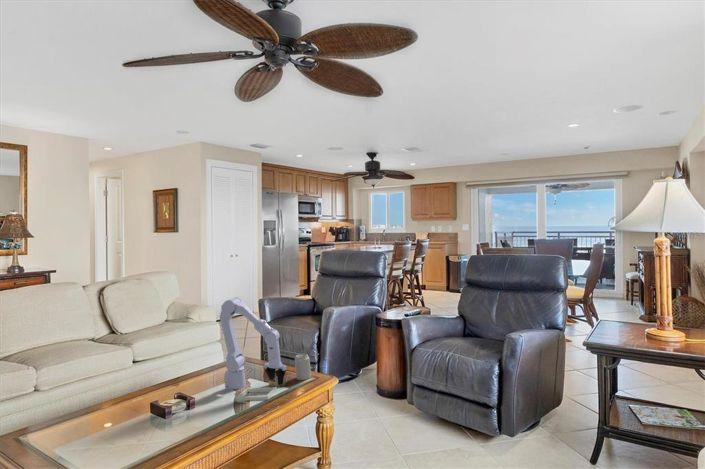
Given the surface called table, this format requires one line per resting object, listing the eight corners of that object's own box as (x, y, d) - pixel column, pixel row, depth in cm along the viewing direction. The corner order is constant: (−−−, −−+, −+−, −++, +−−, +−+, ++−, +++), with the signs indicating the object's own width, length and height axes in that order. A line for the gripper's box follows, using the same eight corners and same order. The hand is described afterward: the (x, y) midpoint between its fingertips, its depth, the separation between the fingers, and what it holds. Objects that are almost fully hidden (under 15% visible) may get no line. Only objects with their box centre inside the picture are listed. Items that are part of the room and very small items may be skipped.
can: (310, 380, 210) (308, 356, 210) (295, 382, 210) (293, 357, 210) (312, 375, 218) (309, 352, 218) (297, 377, 218) (295, 353, 218)
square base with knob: (266, 389, 203) (265, 380, 203) (272, 383, 211) (271, 374, 211) (282, 388, 202) (281, 379, 202) (287, 383, 210) (286, 374, 210)
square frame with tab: (276, 387, 203) (275, 382, 203) (269, 385, 206) (268, 380, 206) (288, 381, 209) (288, 377, 209) (281, 380, 213) (281, 375, 213)
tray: (236, 402, 190) (236, 397, 190) (246, 393, 201) (246, 388, 201) (268, 401, 188) (268, 396, 188) (276, 391, 199) (276, 387, 199)
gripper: (290, 354, 205) (293, 382, 205) (270, 351, 215) (273, 378, 214) (279, 358, 200) (282, 387, 200) (259, 355, 209) (262, 383, 209)
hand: (276, 383), depth 207 cm, fingers closed on square frame with tab, 5 cm apart
